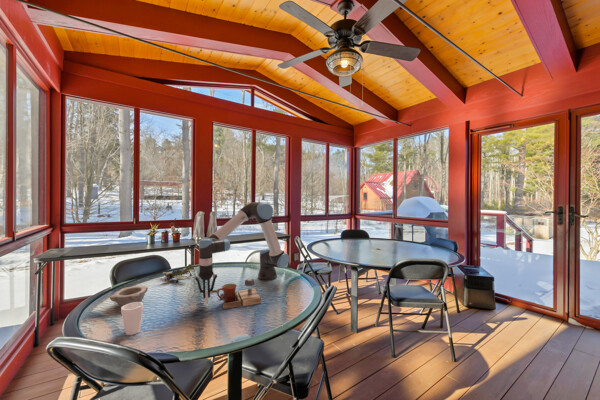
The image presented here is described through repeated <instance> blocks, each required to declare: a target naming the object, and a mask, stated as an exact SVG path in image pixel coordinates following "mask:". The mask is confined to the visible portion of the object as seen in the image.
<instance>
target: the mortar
mask: <svg viewBox="0 0 600 400" xmlns="http://www.w3.org/2000/svg"><path fill="white" fill-rule="evenodd" d="M148 288H149V287H148V286H146V285H145V286H143V285H142V286H141V285H135V286H130V287H129V286H127V287H123V288H121V289H119V290H117V291H116V292H114V293H113V294H112V295H110V297H109V300H110V301H112V302H114V303H117V304H118V306H119V307H120V308H121V307H122V306H124V305H126V304H129V303H133V302H143V299H144V297H145V294H146V293H147V292H148Z"/></svg>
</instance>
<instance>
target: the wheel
mask: <svg viewBox="0 0 600 400" xmlns="http://www.w3.org/2000/svg"><path fill="white" fill-rule="evenodd" d="M244 286H246V287H252V286H255V279H253V278H247V279H245V280H244Z"/></svg>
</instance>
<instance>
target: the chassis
mask: <svg viewBox="0 0 600 400" xmlns="http://www.w3.org/2000/svg"><path fill="white" fill-rule="evenodd" d="M235 292H236V300H235V302H228V303H224V302H223V303H222V308H223V310H225V309H232V308H237V307H238V308H239V307H242V306H243V307H245V306H250V305H251V306H253V305H257V304H261V303H262V300H261V299H262V298H261V296H260V295H259V293H258V292H257V290H256V289H255V288H247V289H242V290H238V291H237V290H235ZM223 294H224V292H223V293H219V296H223ZM219 299H221V300H223V299H222V298H219Z"/></svg>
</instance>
